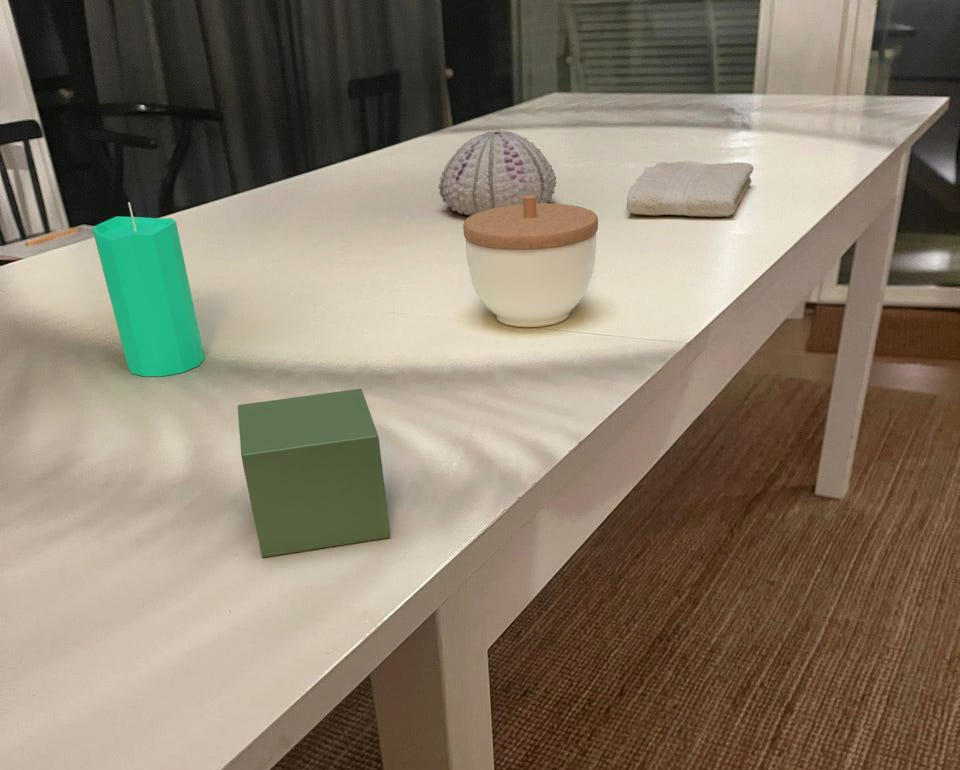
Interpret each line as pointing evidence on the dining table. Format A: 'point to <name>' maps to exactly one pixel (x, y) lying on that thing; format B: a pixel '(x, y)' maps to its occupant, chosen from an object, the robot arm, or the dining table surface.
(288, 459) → the block
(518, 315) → the trinket box
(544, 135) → the dining table surface
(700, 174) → the washcloth
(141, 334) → the candle
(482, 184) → the sea urchin shell
